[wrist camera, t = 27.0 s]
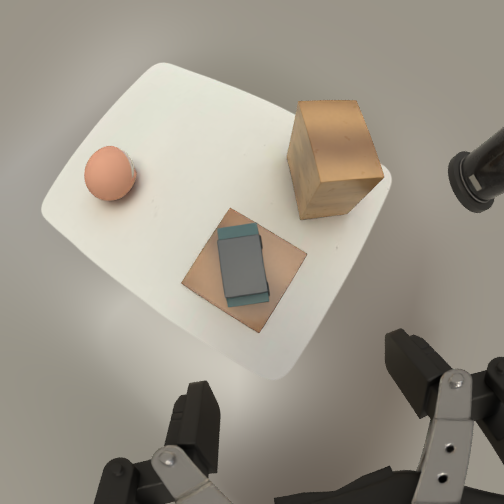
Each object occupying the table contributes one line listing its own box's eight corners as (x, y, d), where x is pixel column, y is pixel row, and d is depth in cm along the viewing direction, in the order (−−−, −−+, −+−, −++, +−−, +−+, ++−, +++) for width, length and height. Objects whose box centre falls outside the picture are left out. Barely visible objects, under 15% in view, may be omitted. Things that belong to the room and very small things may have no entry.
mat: (230, 208, 39) (230, 207, 38) (306, 254, 38) (307, 253, 37) (182, 283, 37) (181, 283, 37) (259, 332, 36) (259, 333, 35)
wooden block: (286, 156, 40) (298, 100, 27) (331, 152, 40) (356, 100, 27) (300, 220, 38) (320, 182, 26) (347, 214, 39) (384, 177, 26)
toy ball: (153, 170, 40) (134, 144, 32) (128, 215, 39) (103, 197, 31) (115, 156, 41) (93, 131, 33) (92, 197, 40) (65, 179, 32)
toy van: (270, 300, 36) (274, 301, 28) (228, 307, 36) (221, 308, 28) (259, 232, 38) (260, 214, 30) (219, 238, 38) (209, 222, 30)
